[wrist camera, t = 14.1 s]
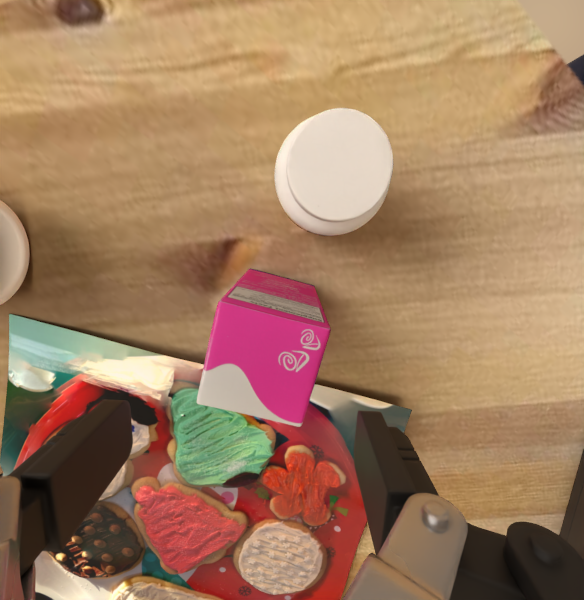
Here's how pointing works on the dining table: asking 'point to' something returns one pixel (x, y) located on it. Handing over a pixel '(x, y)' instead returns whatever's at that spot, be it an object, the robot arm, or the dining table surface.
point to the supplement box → (265, 348)
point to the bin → (575, 514)
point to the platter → (190, 479)
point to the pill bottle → (334, 171)
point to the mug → (12, 253)
